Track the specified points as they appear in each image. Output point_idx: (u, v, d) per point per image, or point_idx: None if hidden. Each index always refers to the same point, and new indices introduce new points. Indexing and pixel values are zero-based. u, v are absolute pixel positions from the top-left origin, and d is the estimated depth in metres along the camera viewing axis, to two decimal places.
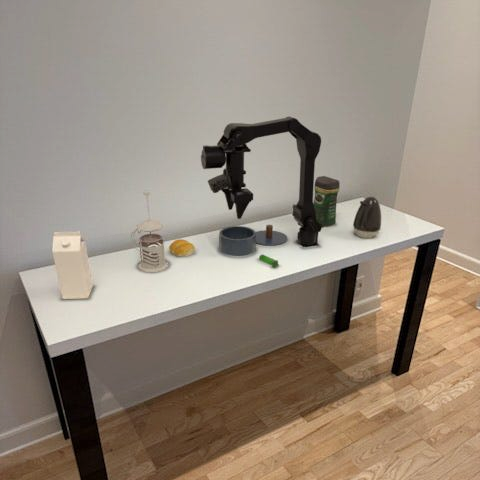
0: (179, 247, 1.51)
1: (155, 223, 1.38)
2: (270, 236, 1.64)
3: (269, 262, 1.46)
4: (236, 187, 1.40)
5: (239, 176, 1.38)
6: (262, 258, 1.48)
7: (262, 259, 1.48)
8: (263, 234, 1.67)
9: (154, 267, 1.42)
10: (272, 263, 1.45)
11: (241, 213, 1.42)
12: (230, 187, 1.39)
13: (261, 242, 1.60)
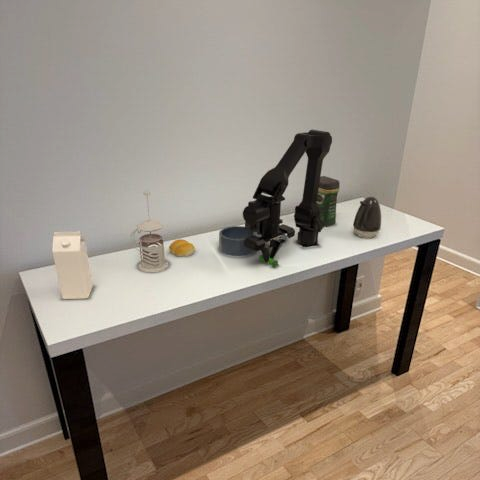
0: (179, 247, 1.51)
1: (155, 223, 1.38)
2: None
3: (269, 262, 1.46)
4: (263, 235, 1.41)
5: (266, 225, 1.39)
6: (262, 258, 1.48)
7: (262, 259, 1.48)
8: None
9: (154, 267, 1.42)
10: (272, 263, 1.45)
11: (265, 257, 1.45)
12: (258, 233, 1.42)
13: None
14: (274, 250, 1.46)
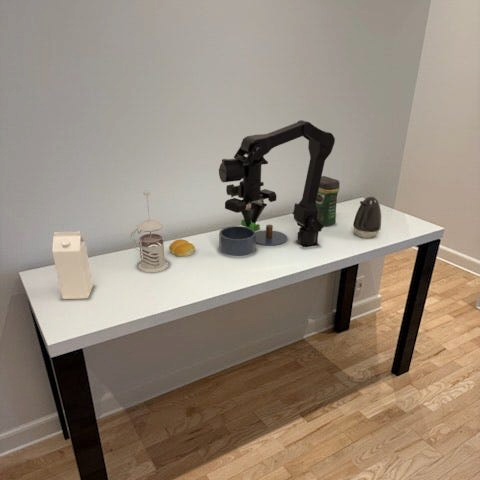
0: (179, 247, 1.51)
1: (155, 223, 1.38)
2: (270, 236, 1.64)
3: (251, 226, 1.46)
4: (244, 198, 1.42)
5: (247, 188, 1.39)
6: (244, 222, 1.48)
7: (244, 224, 1.48)
8: (263, 234, 1.67)
9: (154, 267, 1.42)
10: (254, 227, 1.46)
11: (247, 221, 1.45)
12: (239, 196, 1.43)
13: (261, 242, 1.60)
14: (256, 214, 1.46)
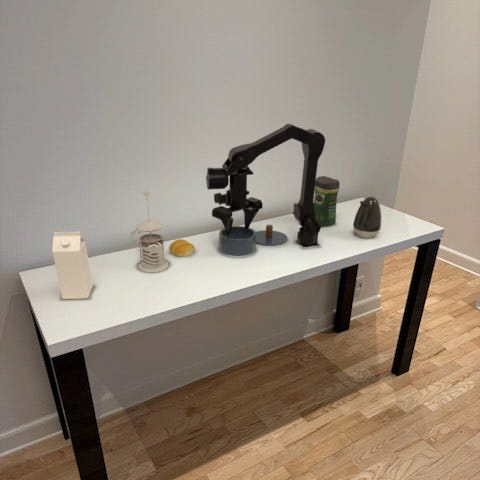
0: (179, 247, 1.51)
1: (155, 223, 1.38)
2: (270, 236, 1.64)
3: None
4: (230, 206, 1.48)
5: (233, 196, 1.45)
6: None
7: None
8: (263, 234, 1.67)
9: (154, 267, 1.42)
10: None
11: (227, 230, 1.50)
12: (226, 204, 1.49)
13: (261, 242, 1.60)
14: (249, 219, 1.54)
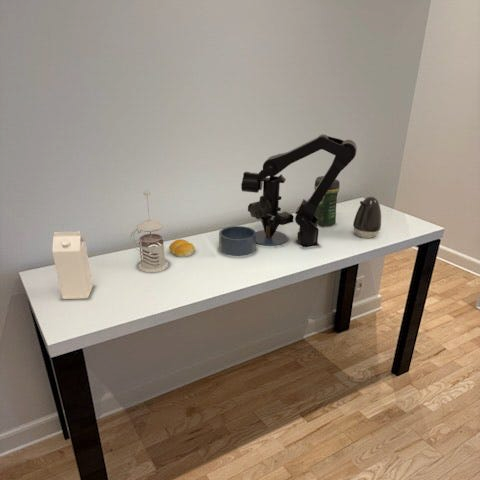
0: (179, 247, 1.51)
1: (155, 223, 1.38)
2: (270, 236, 1.64)
3: None
4: (274, 211, 1.58)
5: (277, 201, 1.56)
6: None
7: None
8: (263, 234, 1.67)
9: (154, 267, 1.42)
10: None
11: (274, 231, 1.62)
12: (270, 212, 1.56)
13: (261, 242, 1.60)
14: (269, 223, 1.64)
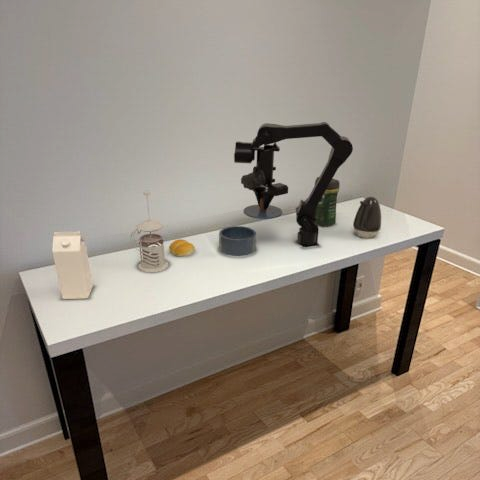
0: (179, 247, 1.51)
1: (155, 223, 1.38)
2: (264, 209, 1.56)
3: None
4: (268, 183, 1.50)
5: (271, 172, 1.49)
6: None
7: None
8: (257, 208, 1.60)
9: (154, 267, 1.42)
10: None
11: (268, 204, 1.55)
12: (264, 183, 1.49)
13: (254, 215, 1.53)
14: (263, 196, 1.57)
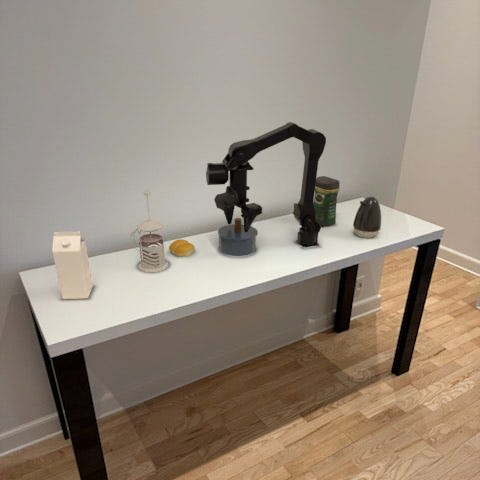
0: (179, 247, 1.51)
1: (155, 223, 1.38)
2: (239, 230, 1.53)
3: None
4: (242, 203, 1.46)
5: (244, 192, 1.45)
6: None
7: None
8: (232, 228, 1.56)
9: (154, 267, 1.42)
10: None
11: (248, 227, 1.49)
12: (237, 203, 1.45)
13: (229, 237, 1.49)
14: (232, 212, 1.55)
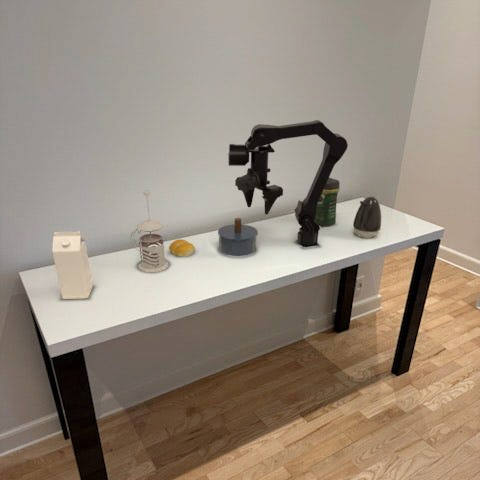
0: (179, 247, 1.51)
1: (155, 223, 1.38)
2: (239, 230, 1.53)
3: None
4: (263, 185, 1.48)
5: (265, 174, 1.47)
6: None
7: None
8: (232, 228, 1.56)
9: (154, 267, 1.42)
10: None
11: (269, 209, 1.51)
12: (259, 185, 1.47)
13: (229, 237, 1.49)
14: (251, 195, 1.57)
